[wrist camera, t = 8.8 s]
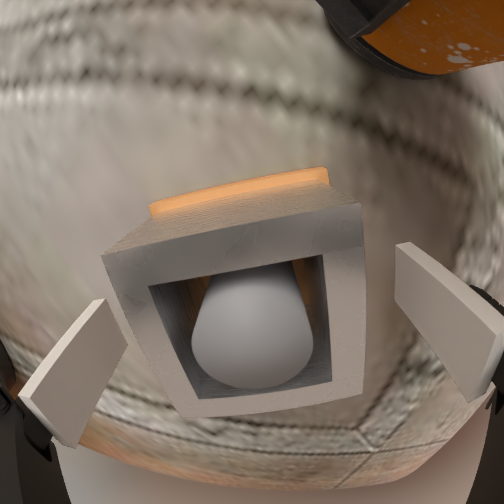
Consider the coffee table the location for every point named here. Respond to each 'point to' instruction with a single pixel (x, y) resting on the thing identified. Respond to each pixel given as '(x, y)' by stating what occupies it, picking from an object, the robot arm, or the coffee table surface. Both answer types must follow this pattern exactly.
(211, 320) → the block
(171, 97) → the coffee table surface
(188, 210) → the grey hollow block
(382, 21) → the canister
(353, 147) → the coffee table surface
